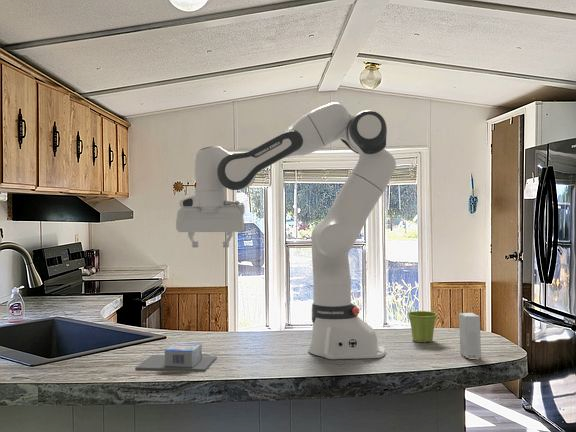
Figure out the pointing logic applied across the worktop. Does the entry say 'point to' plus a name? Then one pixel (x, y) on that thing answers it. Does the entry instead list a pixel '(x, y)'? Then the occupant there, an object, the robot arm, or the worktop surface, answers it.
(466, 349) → the skincare box
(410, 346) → the worktop surface
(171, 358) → the medicine box
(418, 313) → the plant pot
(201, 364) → the mat
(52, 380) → the worktop surface
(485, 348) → the worktop surface
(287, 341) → the worktop surface
